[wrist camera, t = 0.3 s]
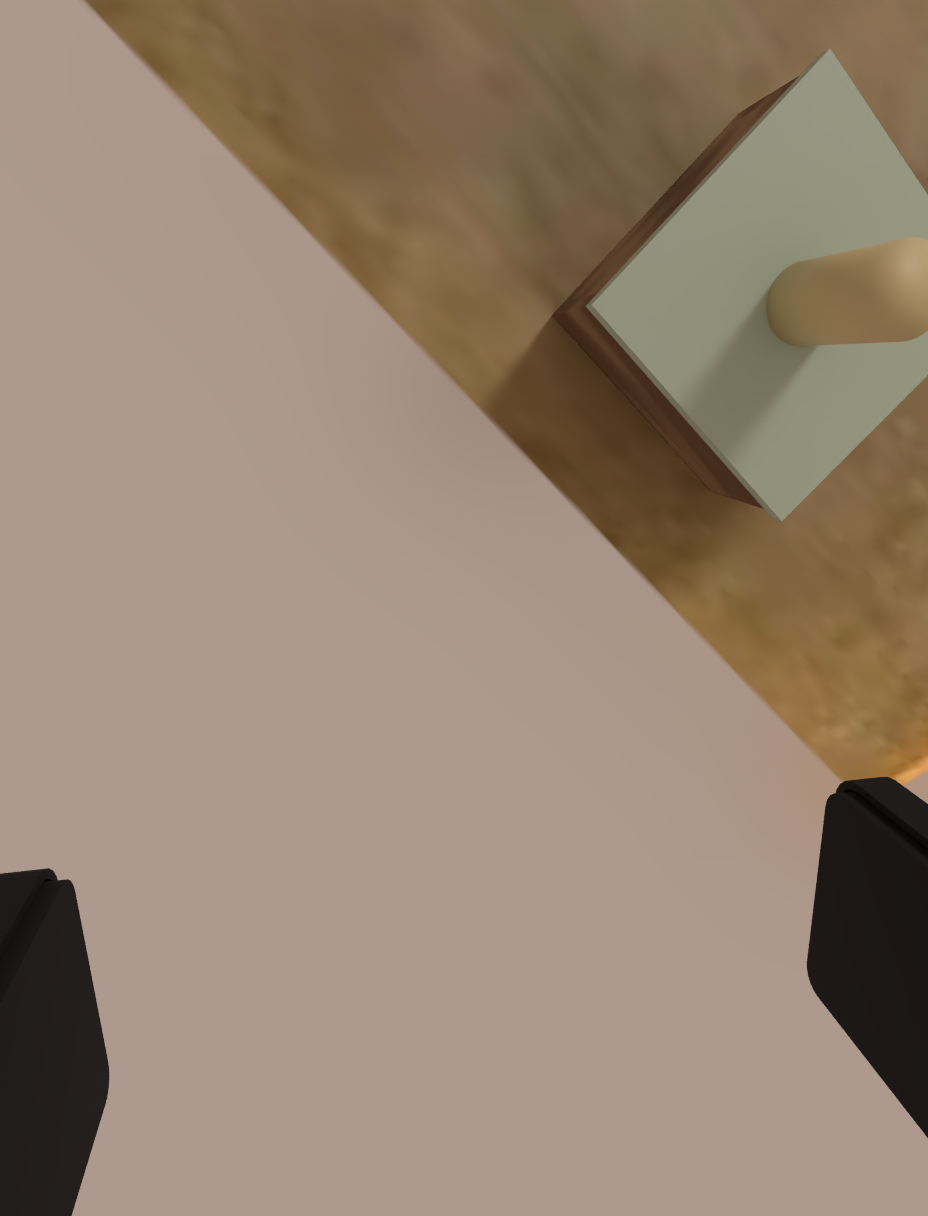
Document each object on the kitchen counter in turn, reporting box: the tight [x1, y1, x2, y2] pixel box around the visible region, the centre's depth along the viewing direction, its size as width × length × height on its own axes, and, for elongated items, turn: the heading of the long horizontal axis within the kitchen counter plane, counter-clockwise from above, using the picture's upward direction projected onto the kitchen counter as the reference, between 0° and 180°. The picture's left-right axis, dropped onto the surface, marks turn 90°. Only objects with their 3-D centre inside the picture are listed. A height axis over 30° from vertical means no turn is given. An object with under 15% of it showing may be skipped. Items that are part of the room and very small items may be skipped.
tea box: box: [552, 76, 799, 509], centre depth 36 cm, size 12×12×6 cm
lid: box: [586, 49, 928, 521], centre depth 30 cm, size 12×12×7 cm
